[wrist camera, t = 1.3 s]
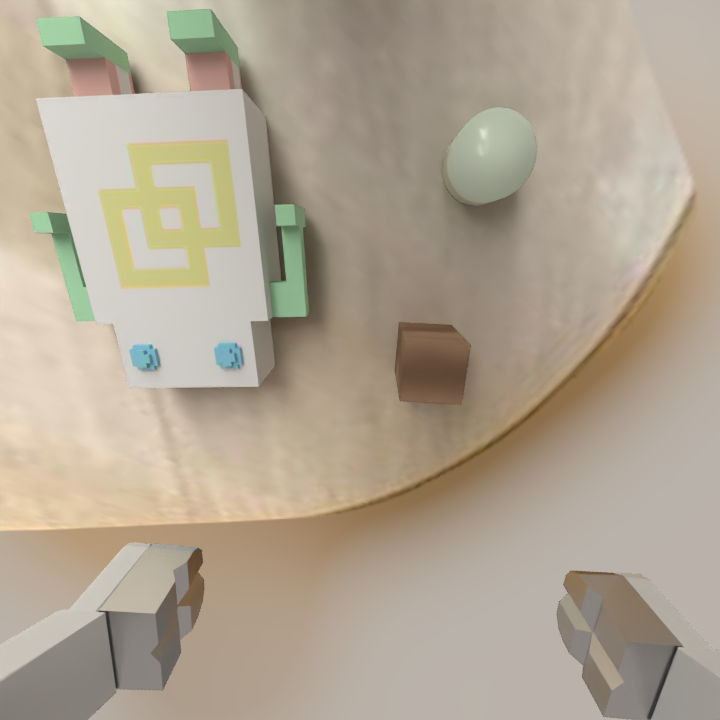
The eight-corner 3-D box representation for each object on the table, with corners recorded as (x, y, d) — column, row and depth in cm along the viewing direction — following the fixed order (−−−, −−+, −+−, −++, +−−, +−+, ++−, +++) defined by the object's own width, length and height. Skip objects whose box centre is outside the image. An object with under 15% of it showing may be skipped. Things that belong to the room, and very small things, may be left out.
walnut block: (398, 322, 34) (405, 341, 27) (451, 325, 34) (470, 345, 27) (394, 371, 35) (399, 401, 29) (444, 374, 35) (461, 404, 29)
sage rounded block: (447, 123, 29) (458, 105, 25) (521, 126, 28) (544, 109, 25) (438, 204, 30) (447, 198, 27) (508, 207, 30) (527, 202, 27)
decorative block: (306, 389, 30) (75, 392, 30) (318, 364, 36) (124, 366, 36) (275, -3, 21) (-40, 15, 22) (296, 51, 28) (48, 64, 28)
